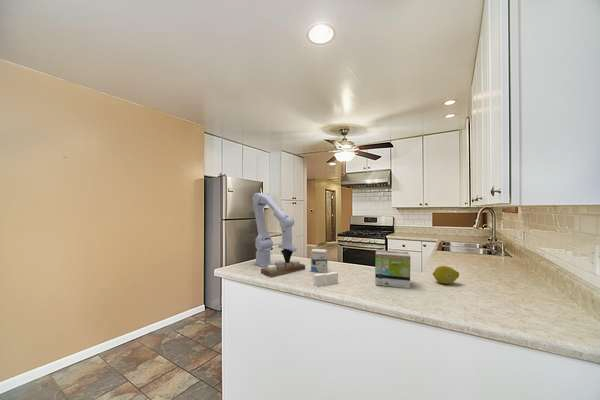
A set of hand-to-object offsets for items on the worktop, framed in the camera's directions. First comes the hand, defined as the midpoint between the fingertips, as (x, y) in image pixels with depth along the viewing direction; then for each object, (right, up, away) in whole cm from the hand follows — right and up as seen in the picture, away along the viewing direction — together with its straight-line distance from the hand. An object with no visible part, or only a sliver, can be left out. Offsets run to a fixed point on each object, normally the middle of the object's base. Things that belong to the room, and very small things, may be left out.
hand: (287, 262), depth 141 cm
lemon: (+75, -4, -24) cm, 79 cm away
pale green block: (+4, -3, +3) cm, 6 cm away
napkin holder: (+19, -5, -23) cm, 30 cm away
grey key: (-4, -2, -3) cm, 5 cm away
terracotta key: (0, -3, 0) cm, 3 cm away
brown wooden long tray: (-2, -4, -2) cm, 5 cm away
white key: (-8, -3, -6) cm, 11 cm away
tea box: (+50, -4, -24) cm, 56 cm away
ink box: (+18, -4, -2) cm, 19 cm away
